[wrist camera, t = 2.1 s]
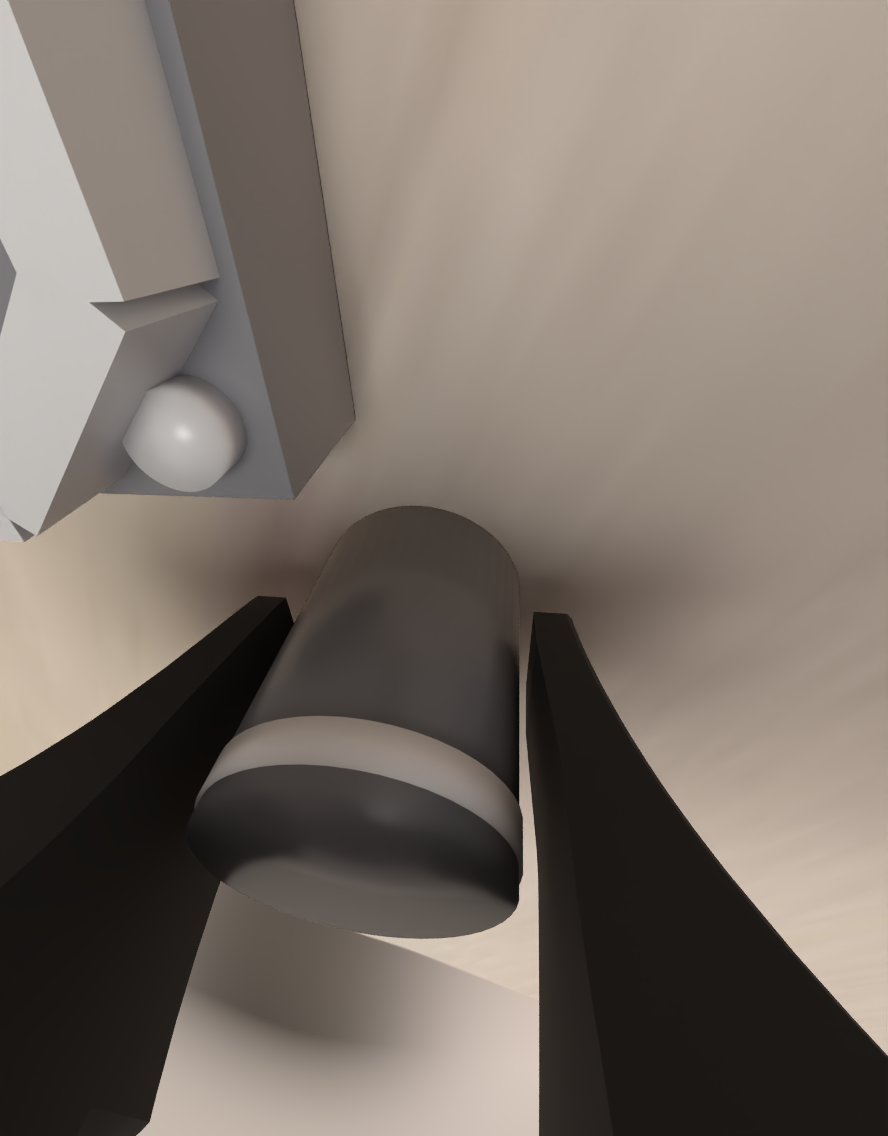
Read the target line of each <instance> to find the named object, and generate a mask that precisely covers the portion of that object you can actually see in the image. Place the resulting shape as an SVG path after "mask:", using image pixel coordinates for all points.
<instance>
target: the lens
mask: <svg viewBox="0 0 888 1136" xmlns="http://www.w3.org/2000/svg"><path fill="white" fill-rule="evenodd" d="M186 840H187V843H188V845H189V848H190V850H191V851H192V853H193V854H194V856H195V857H196V859H197V860H198V861H199V862H200V863H201V864H202V865H203V866H204V867H205V868H206V869H207V870H208V871H209V872H210V873H211V874H213V875H214V876H215V877H216V878H218V879H219V880H221V881H222V882H224V883H225V884H226V885H228V886H230V887H231V888H233V889H235V890H236V891H238V892H240V893H242V894H243V895H246V896H248V897H249V898H251V899H253V900H255V901H257V902H260V903H262V904H264V905H266V906H269V907H271V908H274V909H276V910H279V911H281V912H284V913H286V914H289V915H293V916H295V917H298V918H301V919H304V920H308V921H311V922H315V923H318V924H322V925H326V926H330V927H334V928H338V929H343V930H348V931H352V932H358V933H364V934H370V935H378V936H386V937H398V938H418V939H428V938H448V937H457V936H463V935H469V934H473V933H477V932H481V931H484V930H487V929H490V928H492V927H495V926H496V925H498V924H500V923H502V922H504V921H505V920H506V919H507V918H509V917H510V916H511V915H512V913H513V912H514V911H515V909H516V908H517V905H518V902H519V884H520V882H521V879H522V876H523V817H522V813H521V810H520V806H519V580H518V575H517V572H516V569H515V566H514V564H513V562H512V560H511V558H510V556H509V554H508V553H507V552H506V550H505V549H504V548H503V546H502V545H501V544H500V543H499V542H498V541H497V540H496V539H495V538H494V537H493V536H492V535H491V534H490V533H488V532H487V531H486V530H485V529H483V528H482V527H481V526H479V525H477V524H476V523H474V522H472V521H471V520H469V519H466V518H464V517H462V516H460V515H458V514H455V513H451V512H448V511H445V510H441V509H436V508H431V507H422V506H402V507H395V508H389V509H385V510H382V511H378V512H375V513H373V514H371V515H368V516H366V517H364V518H363V519H361V520H359V521H358V522H356V523H355V524H354V525H352V526H351V527H350V528H349V529H348V530H347V531H346V532H345V533H344V534H343V536H342V537H341V538H340V539H339V541H338V543H337V545H336V546H335V548H334V550H333V552H332V554H331V556H330V557H329V559H328V561H327V563H326V565H325V567H324V569H323V570H322V572H321V574H320V576H319V578H318V580H317V582H316V584H315V585H314V587H313V589H312V591H311V593H310V595H309V597H308V598H307V600H306V602H305V604H304V606H303V608H302V610H301V612H300V613H299V615H298V617H297V619H296V621H295V623H294V625H293V627H292V628H291V630H290V632H289V634H288V636H287V638H286V640H285V641H284V643H283V645H282V647H281V649H280V651H279V653H278V655H277V656H276V658H275V660H274V662H273V664H272V666H271V668H270V670H269V671H268V673H267V675H266V677H265V679H264V681H263V683H262V684H261V686H260V688H259V690H258V692H257V694H256V696H255V698H254V699H253V701H252V703H251V705H250V707H249V709H248V711H247V713H246V714H245V716H244V718H243V720H242V722H241V724H240V726H239V727H238V729H237V731H236V733H235V735H234V737H233V739H232V740H231V741H230V742H229V743H228V744H227V745H225V747H224V749H223V750H222V752H221V753H220V755H219V757H218V759H217V761H216V762H215V764H214V766H213V768H212V770H211V772H210V774H209V775H208V777H207V779H206V781H205V783H204V785H203V786H202V788H201V790H200V792H199V794H198V796H197V798H196V802H195V806H194V812H193V813H192V815H191V817H190V819H189V821H188V823H187V827H186Z"/></svg>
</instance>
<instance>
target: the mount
mask: <svg viewBox="0 0 888 1136" xmlns="http://www.w3.org/2000/svg"><path fill="white" fill-rule="evenodd" d="M354 420H355V414H354V407H353V401H352V394H351V387H350V380H349V374H348V367H347V360H346V353H345V347H344V340H343V333H342V326H341V320H340V313H339V306H338V299H337V293H336V286H335V279H334V272H333V266H332V259H331V252H330V245H329V239H328V232H327V225H326V218H325V212H324V205H323V198H322V191H321V185H320V178H319V171H318V164H317V158H316V151H315V144H314V137H313V131H312V124H311V117H310V110H309V104H308V97H307V90H306V83H305V77H304V70H303V63H302V56H301V50H300V43H299V36H298V29H297V23H296V16H295V9H294V2H293V0H0V541H13V542H25V541H27V540H28V539H30V538H31V537H33V536H34V535H36V536H38V535H39V534H41V533H42V532H44V531H45V530H47V529H48V528H50V527H51V526H52V525H54V524H55V523H57V522H58V521H60V520H61V519H63V518H64V517H65V516H67V515H68V514H70V513H71V512H73V511H74V510H76V509H77V508H78V507H80V506H81V505H83V504H84V503H86V502H87V501H89V500H90V499H91V498H93V497H94V496H96V495H97V494H99V493H108V494H139V495H170V496H201V497H232V498H263V499H295V498H296V497H297V495H298V494H299V493H300V491H301V490H302V489H303V487H304V486H305V485H306V483H307V482H308V481H309V479H310V478H311V477H312V475H313V474H314V473H315V471H316V470H317V469H318V468H319V466H320V465H321V464H322V462H323V461H324V460H325V458H326V457H327V456H328V454H329V453H330V452H331V450H332V449H333V448H334V446H335V445H336V444H337V442H338V441H339V440H340V438H341V437H342V436H343V435H344V433H345V432H346V431H347V429H348V428H349V427H350V425H351V424H352V423H353V421H354Z"/></svg>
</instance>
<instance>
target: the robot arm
mask: <svg viewBox="0 0 888 1136" xmlns="http://www.w3.org/2000/svg"><path fill="white" fill-rule="evenodd" d="M293 625H294V622H293V619H292V616H291V612H290V609H289V606H288V603H287V599H286V598H282V597H265V596H257V597H256V598H254V599H253V600H252V601H250V602H249V603H248V604H246V605H245V606H244V607H242V608H241V609H240V610H238V611H237V612H236V613H235V614H233V615H232V616H231V617H229V618H228V619H227V620H226V621H224V622H223V623H222V624H221V625H219V626H218V627H217V628H216V629H214V630H213V631H212V632H211V633H209V634H208V635H207V636H205V637H204V638H203V639H202V640H200V641H199V642H198V643H197V644H195V645H194V646H193V647H191V648H190V649H189V650H188V651H186V652H185V653H184V654H182V655H181V656H180V657H179V658H177V659H176V660H175V661H173V662H172V663H171V664H170V665H168V666H167V667H166V668H164V669H163V670H162V671H160V672H159V673H158V674H156V675H155V676H153V677H152V678H151V679H149V680H148V681H146V682H145V683H144V684H142V685H141V686H140V687H138V688H137V689H135V690H134V691H133V692H131V693H130V694H128V695H127V696H126V697H124V698H123V699H122V700H120V701H119V702H117V703H116V704H115V705H113V706H112V707H110V708H109V709H108V710H106V711H105V712H103V713H102V714H100V715H99V716H97V717H96V718H94V719H93V720H91V721H90V722H88V723H87V724H85V725H84V726H82V727H81V728H79V729H78V730H76V731H75V732H73V733H72V734H70V735H68V736H67V737H65V738H64V739H62V740H60V741H59V742H57V743H56V744H54V745H52V746H51V747H49V748H48V749H46V750H44V751H43V752H41V753H40V754H38V755H36V756H35V757H33V758H31V759H30V760H28V761H26V762H25V763H23V764H21V765H19V766H18V767H16V768H14V769H12V770H11V771H9V772H7V773H5V774H3V775H2V776H0V1136H136V1135H137V1134H138V1133H140V1132H141V1131H142V1129H143V1128H144V1127H145V1126H146V1125H147V1124H148V1123H149V1122H150V1118H151V1114H152V1110H153V1106H154V1102H155V1098H156V1094H157V1090H158V1086H159V1083H160V1079H161V1075H162V1072H163V1068H164V1064H165V1060H166V1057H167V1053H168V1049H169V1045H170V1042H171V1038H172V1035H173V1031H174V1027H175V1024H176V1020H177V1016H178V1013H179V1010H180V1007H181V1003H182V1000H183V996H184V993H185V989H186V987H187V983H188V980H189V977H190V973H191V970H192V966H193V963H194V960H195V956H196V953H197V950H198V947H199V944H200V941H201V938H202V935H203V931H204V929H205V926H206V923H207V919H208V916H209V913H210V910H211V907H212V904H213V901H214V898H215V895H216V892H217V889H218V887H219V884H220V881H221V880H219V879H218V878H216V877H215V876H214V875H213V874H211V873H210V872H209V871H208V870H207V869H206V868H205V867H204V866H203V865H202V864H201V863H200V862H199V861H198V860H197V859H196V857H195V856H194V854H193V853H192V851H191V850H190V848H189V845H188V843H187V840H186V827H187V823H188V821H189V819H190V817H191V815H192V813H193V812H194V806H195V802H196V798H197V796H198V794H199V792H200V790H201V788H202V786H203V785H204V783H205V781H206V779H207V777H208V775H209V774H210V772H211V770H212V768H213V766H214V764H215V762H216V761H217V759H218V757H219V755H220V753H221V752H222V750H223V749H224V747H225V745H227V744H228V743H229V742H230V741H231V740H232V739H233V737H234V735H235V733H236V731H237V729H238V727H239V726H240V724H241V722H242V720H243V718H244V716H245V714H246V713H247V711H248V709H249V707H250V705H251V703H252V701H253V699H254V698H255V696H256V694H257V692H258V690H259V688H260V686H261V684H262V683H263V681H264V679H265V677H266V675H267V673H268V671H269V670H270V668H271V666H272V664H273V662H274V660H275V658H276V656H277V655H278V653H279V651H280V649H281V647H282V645H283V643H284V641H285V640H286V638H287V636H288V634H289V632H290V630H291V628H292V627H293ZM526 739H527V750H528V761H529V772H530V783H531V793H532V804H533V815H534V825H535V836H536V847H537V863H538V892H539V1136H888V1056H887V1055H886V1053H885V1052H884V1051H883V1050H882V1049H881V1048H880V1047H879V1046H878V1045H877V1044H876V1043H875V1042H874V1041H873V1039H872V1038H871V1037H870V1036H869V1035H868V1034H867V1033H866V1032H865V1031H864V1030H863V1029H862V1028H861V1027H860V1025H859V1024H858V1023H857V1022H856V1021H855V1020H854V1019H853V1018H852V1017H851V1016H850V1015H849V1013H848V1012H847V1011H846V1010H845V1009H844V1008H843V1007H842V1006H841V1004H840V1003H839V1002H838V1001H837V1000H836V999H835V998H834V997H833V996H832V994H831V993H830V992H829V991H828V990H827V989H826V988H825V987H824V985H823V984H822V983H821V982H820V981H819V980H818V979H817V978H816V976H815V975H814V974H813V973H812V972H811V971H810V970H809V969H808V967H807V966H806V965H805V964H804V963H803V962H802V961H801V960H800V958H799V957H798V956H797V955H796V954H795V953H794V952H793V950H792V949H791V948H790V947H789V946H788V944H787V943H786V942H785V941H784V940H783V938H782V937H781V936H780V935H779V934H778V932H777V931H776V930H775V929H774V928H773V926H772V925H771V924H770V923H769V922H768V920H767V919H766V918H765V917H764V916H763V914H762V913H761V912H760V911H759V910H758V908H757V907H756V906H755V905H754V904H753V902H752V901H751V900H750V899H749V898H748V896H747V895H746V894H745V893H744V892H743V890H742V889H741V888H740V887H739V886H738V884H737V883H736V882H735V881H734V880H733V878H732V877H731V876H730V875H729V874H728V872H727V871H726V870H725V869H724V867H723V866H722V865H721V864H720V862H719V861H718V860H717V858H716V857H715V856H714V854H713V853H712V852H711V851H710V849H709V848H708V847H707V845H706V844H705V843H704V841H703V840H702V839H701V837H700V836H699V835H698V834H697V832H696V831H695V830H694V828H693V827H692V826H691V824H690V823H689V821H688V820H687V819H686V817H685V816H684V815H683V813H682V812H681V810H680V809H679V808H678V806H677V805H676V803H675V802H674V801H673V799H672V798H671V797H670V795H669V794H668V792H667V791H666V789H665V788H664V786H663V785H662V784H661V782H660V781H659V779H658V778H657V776H656V775H655V773H654V772H653V770H652V769H651V767H650V766H649V764H648V763H647V761H646V759H645V758H644V756H643V755H642V753H641V751H640V750H639V748H638V747H637V745H636V744H635V742H634V740H633V739H632V737H631V736H630V734H629V732H628V731H627V729H626V727H625V726H624V724H623V722H622V721H621V719H620V717H619V715H618V714H617V712H616V710H615V708H614V706H613V705H612V703H611V701H610V699H609V698H608V696H607V694H606V692H605V690H604V689H603V687H602V685H601V683H600V681H599V679H598V677H597V675H596V673H595V671H594V669H593V667H592V665H591V663H590V661H589V659H588V657H587V655H586V653H585V651H584V648H583V646H582V644H581V642H580V639H579V637H578V634H577V632H576V629H575V627H574V624H573V621H572V619H571V618H570V617H569V616H568V615H567V614H558V613H541V612H534V615H533V624H532V634H531V643H530V653H529V662H528V672H527V681H526Z"/></svg>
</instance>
